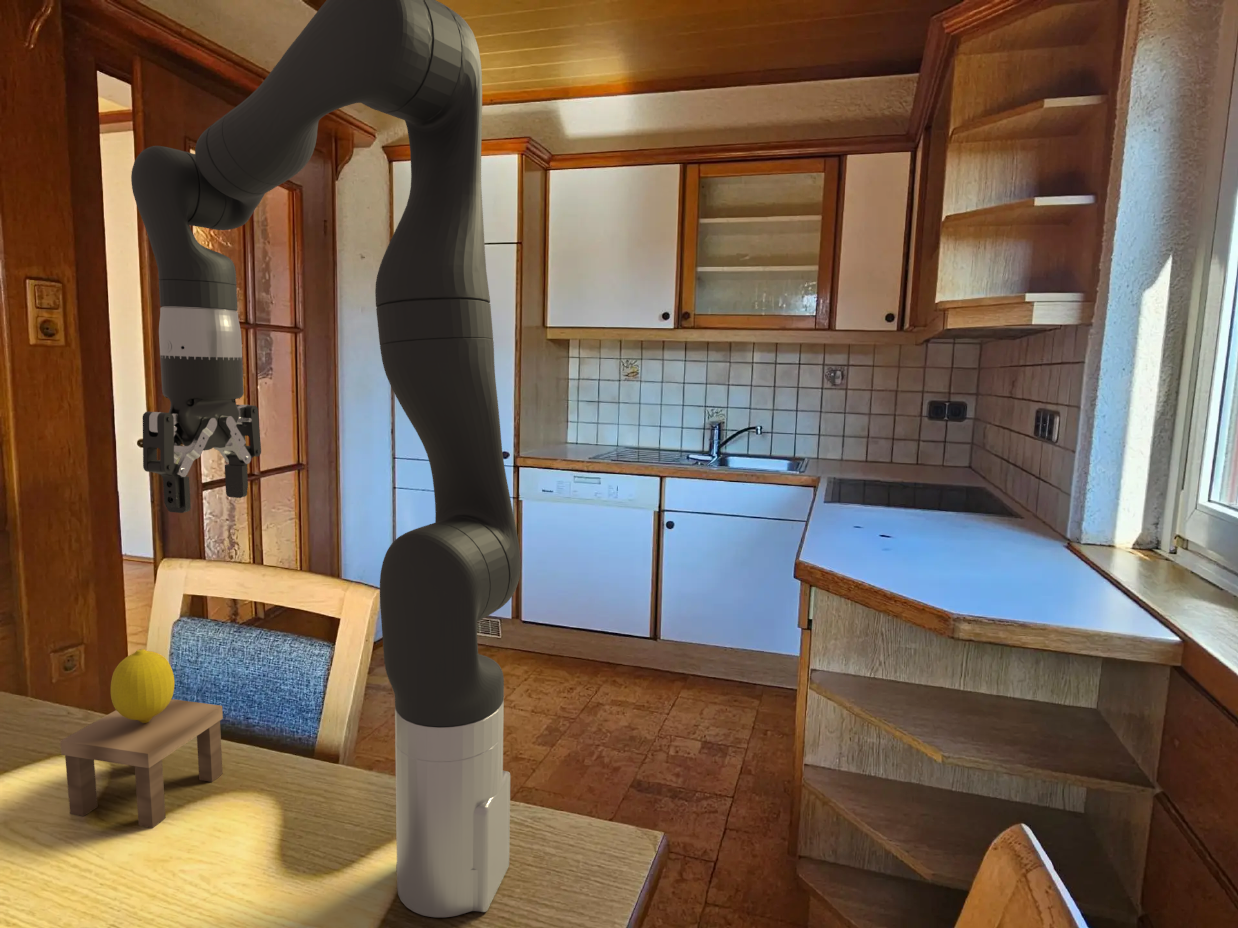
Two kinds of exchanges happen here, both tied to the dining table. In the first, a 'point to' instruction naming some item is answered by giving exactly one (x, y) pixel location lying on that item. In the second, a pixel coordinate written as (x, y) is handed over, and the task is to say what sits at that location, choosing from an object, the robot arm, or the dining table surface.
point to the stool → (142, 753)
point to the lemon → (142, 685)
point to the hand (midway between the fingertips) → (209, 504)
